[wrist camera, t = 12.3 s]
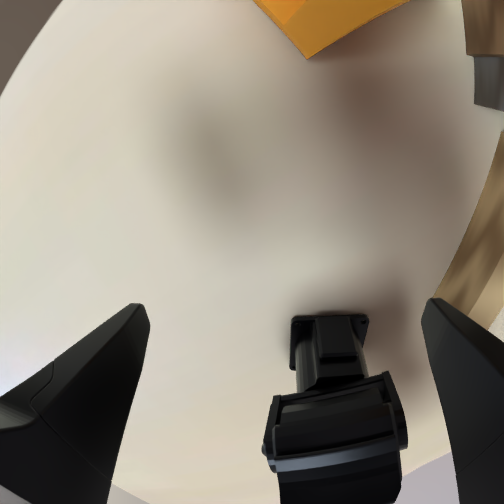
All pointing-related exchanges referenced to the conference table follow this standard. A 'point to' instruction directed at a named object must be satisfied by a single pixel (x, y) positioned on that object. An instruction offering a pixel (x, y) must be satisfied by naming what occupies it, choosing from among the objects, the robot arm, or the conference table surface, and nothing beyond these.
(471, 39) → the pronged block
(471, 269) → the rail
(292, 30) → the bracket
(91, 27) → the conference table surface
